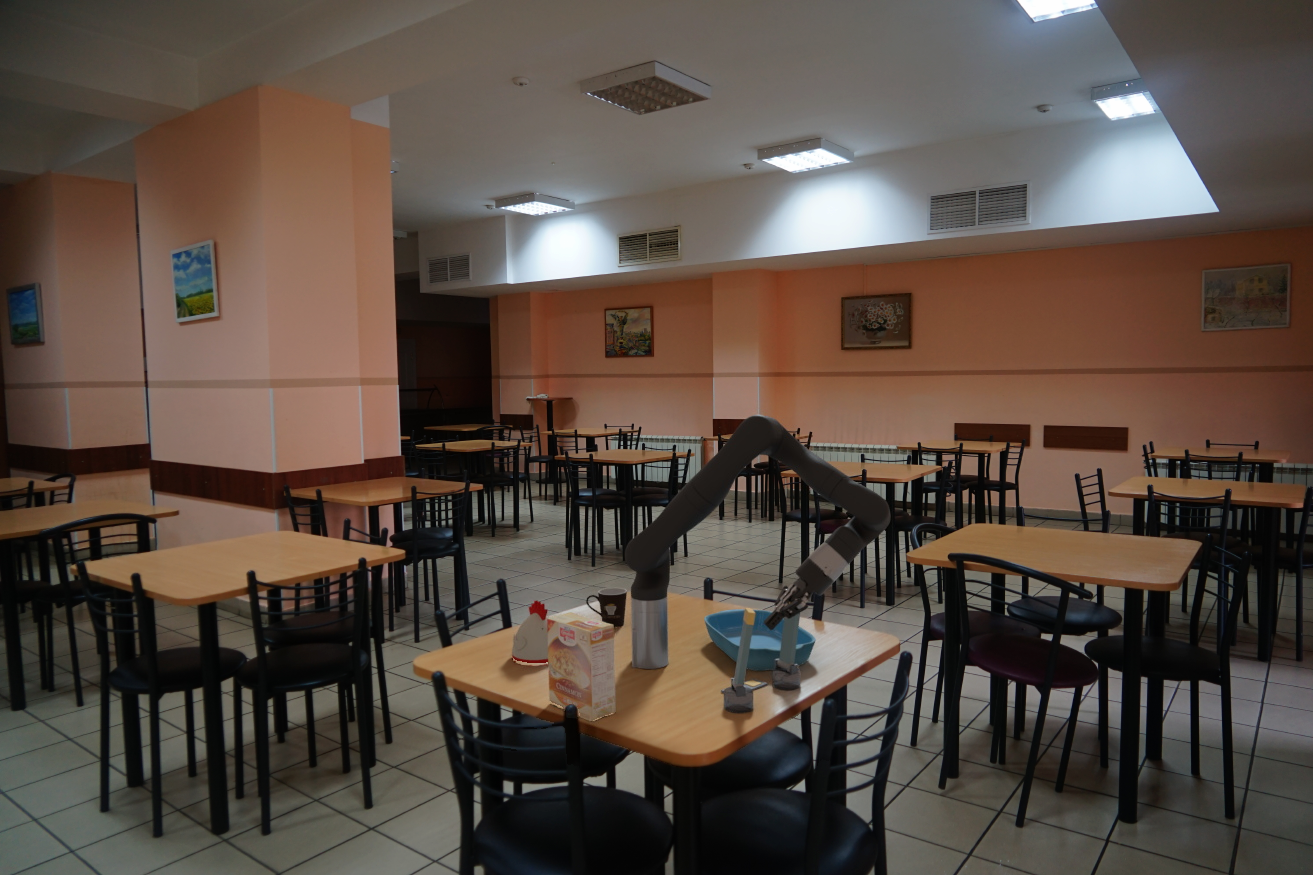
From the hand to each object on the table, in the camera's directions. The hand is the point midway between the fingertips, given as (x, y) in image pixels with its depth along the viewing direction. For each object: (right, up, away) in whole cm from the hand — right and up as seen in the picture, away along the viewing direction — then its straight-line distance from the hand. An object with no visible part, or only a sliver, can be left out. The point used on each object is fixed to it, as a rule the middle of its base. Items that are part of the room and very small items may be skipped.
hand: (767, 626), depth 172 cm
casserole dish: (+3, -16, +37) cm, 41 cm away
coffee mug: (-38, -15, +66) cm, 78 cm away
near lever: (-6, -13, 0) cm, 14 cm away
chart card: (-4, -17, +11) cm, 21 cm away
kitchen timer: (-55, -17, +36) cm, 68 cm away
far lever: (+6, -12, +12) cm, 18 cm away
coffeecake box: (-40, -18, +1) cm, 44 cm away
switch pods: (0, -17, +6) cm, 18 cm away
